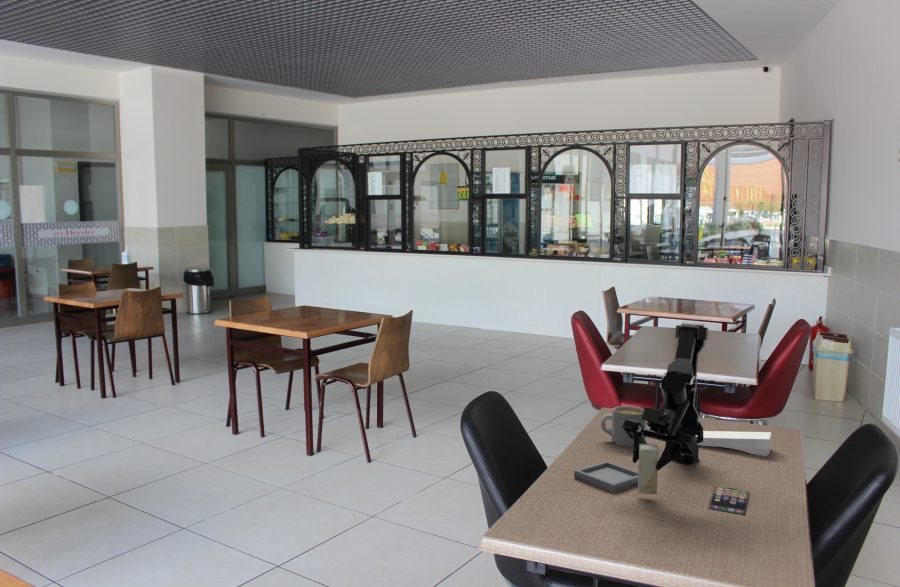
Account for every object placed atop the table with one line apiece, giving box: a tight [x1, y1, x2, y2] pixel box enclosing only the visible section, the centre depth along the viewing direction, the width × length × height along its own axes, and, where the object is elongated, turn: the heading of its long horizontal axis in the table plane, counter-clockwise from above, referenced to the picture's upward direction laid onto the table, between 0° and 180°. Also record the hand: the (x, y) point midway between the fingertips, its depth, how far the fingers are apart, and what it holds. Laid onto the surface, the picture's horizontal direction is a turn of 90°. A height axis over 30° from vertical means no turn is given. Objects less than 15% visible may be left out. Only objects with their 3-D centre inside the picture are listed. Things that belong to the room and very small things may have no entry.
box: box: [637, 443, 659, 496], centre depth 175 cm, size 5×4×11 cm
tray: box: [573, 460, 638, 494], centre depth 189 cm, size 13×13×2 cm
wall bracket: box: [696, 430, 773, 457], centre depth 220 cm, size 10×7×28 cm
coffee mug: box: [600, 405, 647, 447], centre depth 222 cm, size 13×10×10 cm
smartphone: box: [708, 485, 750, 516], centre depth 176 cm, size 8×15×1 cm, turn 154°
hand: (645, 465), depth 174 cm, fingers closed on box, 6 cm apart
